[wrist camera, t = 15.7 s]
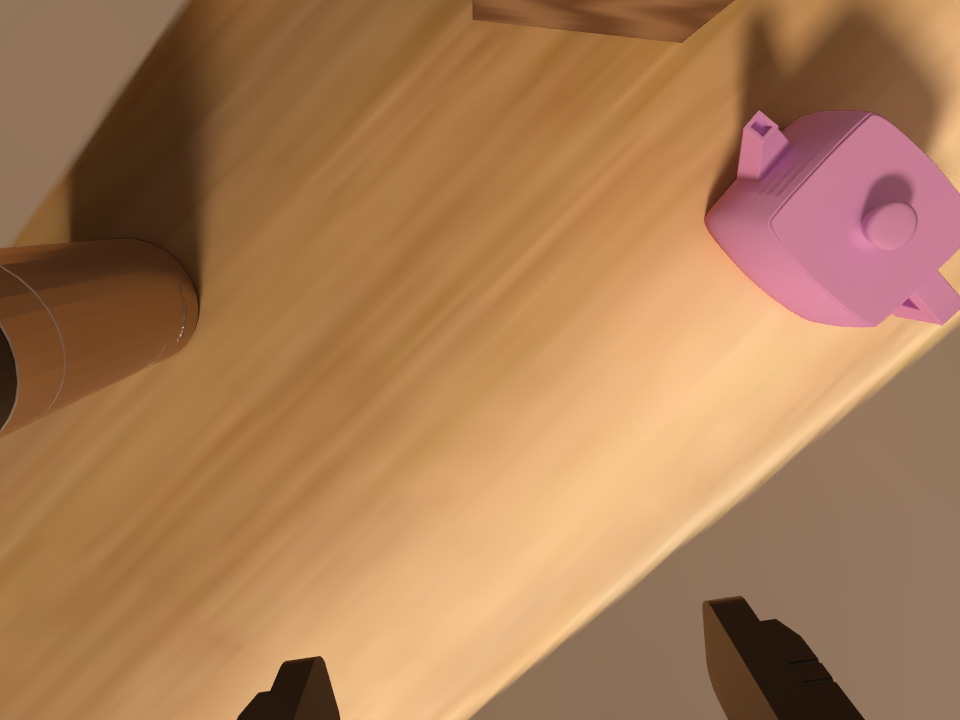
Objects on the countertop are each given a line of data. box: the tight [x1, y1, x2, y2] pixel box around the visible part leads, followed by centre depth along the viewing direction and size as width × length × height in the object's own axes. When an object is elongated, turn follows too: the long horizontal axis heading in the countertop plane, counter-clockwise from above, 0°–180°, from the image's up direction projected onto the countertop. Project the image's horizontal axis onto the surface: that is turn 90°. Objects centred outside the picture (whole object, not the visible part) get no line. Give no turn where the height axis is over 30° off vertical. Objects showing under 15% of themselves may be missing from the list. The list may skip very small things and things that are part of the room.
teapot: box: [704, 110, 960, 327], centre depth 36 cm, size 18×10×10 cm, turn 50°
